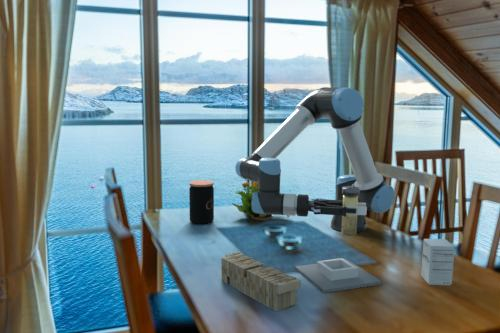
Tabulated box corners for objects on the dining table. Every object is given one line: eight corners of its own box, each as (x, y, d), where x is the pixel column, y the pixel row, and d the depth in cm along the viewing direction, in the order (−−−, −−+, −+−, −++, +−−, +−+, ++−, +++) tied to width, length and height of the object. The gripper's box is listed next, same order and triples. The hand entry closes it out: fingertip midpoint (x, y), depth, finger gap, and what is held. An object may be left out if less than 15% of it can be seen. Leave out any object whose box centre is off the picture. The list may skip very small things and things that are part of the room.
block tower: (218, 282, 152) (278, 314, 129) (218, 256, 151) (278, 283, 127) (239, 276, 156) (300, 306, 133) (239, 251, 155) (300, 277, 132)
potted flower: (294, 214, 230) (295, 178, 227) (281, 227, 208) (282, 187, 205) (245, 209, 238) (245, 174, 236) (227, 222, 216) (227, 183, 213)
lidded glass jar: (351, 230, 169) (353, 185, 166) (360, 235, 163) (363, 189, 161) (337, 232, 167) (339, 186, 164) (345, 237, 161) (347, 190, 159)
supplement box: (420, 276, 156) (423, 238, 154) (443, 276, 156) (446, 238, 153) (427, 285, 148) (430, 245, 146) (452, 285, 148) (455, 246, 146)
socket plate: (347, 262, 167) (347, 251, 167) (381, 284, 149) (382, 271, 148) (294, 269, 160) (295, 257, 160) (323, 293, 142) (324, 280, 141)
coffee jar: (209, 226, 209) (209, 185, 207) (186, 224, 211) (186, 184, 209) (216, 219, 220) (216, 180, 217) (194, 218, 222) (193, 179, 219)
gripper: (298, 209, 176) (364, 213, 172) (294, 222, 159) (366, 227, 154) (299, 189, 175) (365, 192, 171) (294, 200, 157) (368, 204, 153)
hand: (366, 209), depth 163 cm, fingers closed on lidded glass jar, 5 cm apart
